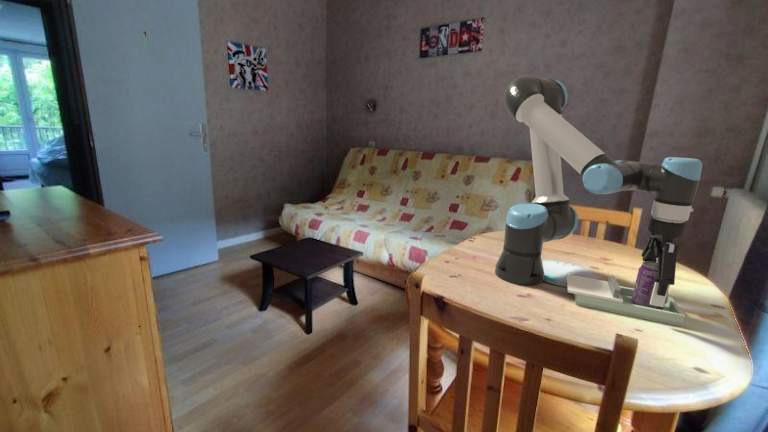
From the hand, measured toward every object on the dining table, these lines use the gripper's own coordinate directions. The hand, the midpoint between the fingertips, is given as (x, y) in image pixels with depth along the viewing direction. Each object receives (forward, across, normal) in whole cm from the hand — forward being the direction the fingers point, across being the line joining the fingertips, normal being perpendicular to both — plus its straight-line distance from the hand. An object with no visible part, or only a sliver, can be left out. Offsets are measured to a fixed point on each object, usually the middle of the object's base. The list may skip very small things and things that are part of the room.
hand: (649, 293), depth 93 cm
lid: (+2, 0, +13) cm, 13 cm away
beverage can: (+4, 0, 0) cm, 4 cm away
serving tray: (+5, 0, +6) cm, 7 cm away
